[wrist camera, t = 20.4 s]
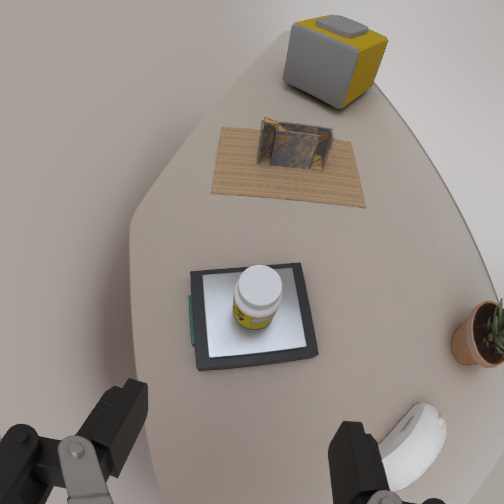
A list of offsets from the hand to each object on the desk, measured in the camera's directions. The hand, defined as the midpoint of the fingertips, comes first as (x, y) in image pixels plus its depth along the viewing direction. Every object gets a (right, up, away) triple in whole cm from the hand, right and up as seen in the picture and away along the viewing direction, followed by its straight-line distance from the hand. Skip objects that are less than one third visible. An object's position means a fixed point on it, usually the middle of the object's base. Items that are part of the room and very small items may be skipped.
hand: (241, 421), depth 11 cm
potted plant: (+33, -8, +27) cm, 43 cm away
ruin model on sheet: (+7, +22, +41) cm, 47 cm away
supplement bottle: (+1, 0, +24) cm, 24 cm away
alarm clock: (+18, +46, +55) cm, 74 cm away
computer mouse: (+20, -19, +20) cm, 34 cm away
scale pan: (0, 0, +25) cm, 25 cm away
